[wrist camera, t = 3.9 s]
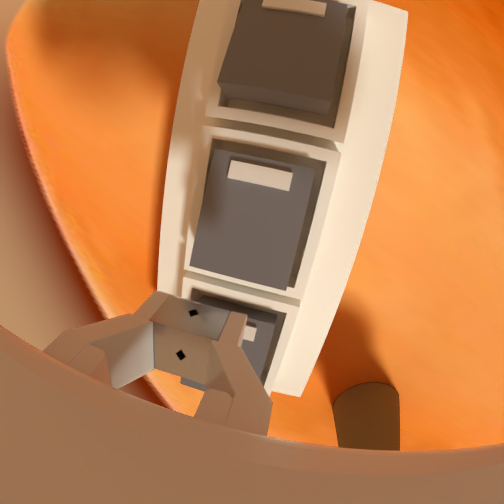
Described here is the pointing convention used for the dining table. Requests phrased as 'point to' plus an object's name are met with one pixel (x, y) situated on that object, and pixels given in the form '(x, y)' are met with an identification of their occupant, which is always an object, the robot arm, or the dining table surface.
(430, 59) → the dining table surface
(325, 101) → the rocker
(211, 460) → the robot arm
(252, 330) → the rocker
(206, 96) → the switch strip
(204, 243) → the rocker
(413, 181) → the dining table surface
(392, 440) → the cork
